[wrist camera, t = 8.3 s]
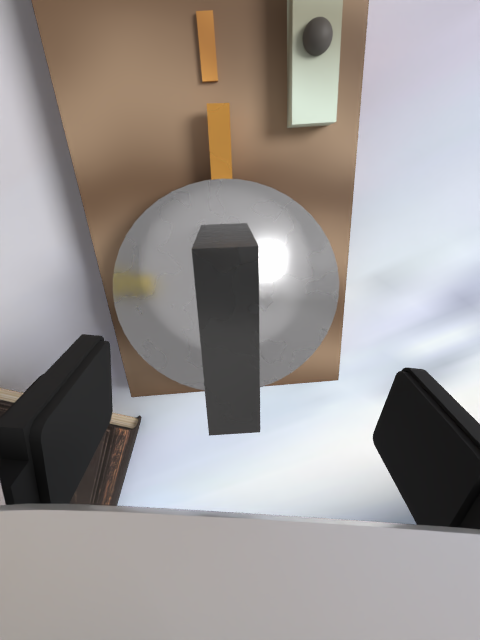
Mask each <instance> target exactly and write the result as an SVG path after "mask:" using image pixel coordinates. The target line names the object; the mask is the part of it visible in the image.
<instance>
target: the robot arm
mask: <svg viewBox="0 0 480 640" xmlns="http://www.w3.org/2000/svg"><path fill="white" fill-rule="evenodd" d="M111 417H112V386H111V360H110V344H109V342H108V341H104V338H103V337H102V336H94V335H85V334H83V335H81V336H80V337H79V338H78V339H77V340H76V341H75V342H74V343H73V344H72V345H71V347H70V348H69V349H68V350H67V351H66V352H65V353H64V354H63V355H62V356H61V357H60V358H59V359H58V360H57V361H56V362H55V363H54V364H53V365H52V366H51V367H50V368H49V369H48V371H47V372H46V373H45V374H43V375H41V376H40V377H39V378H38V379H37V380H36V381H35V382H34V383H33V384H32V385H31V386H30V387H29V388H28V389H27V390H26V391H25V392H24V393H23V394H22V395H21V396H20V397H19V398H18V399H17V400H16V401H15V403H14V404H13V405H12V406H11V407H10V408H9V409H8V410H7V411H6V412H5V413H4V414H3V415H2V416H1V417H0V640H480V424H479V423H478V422H477V421H476V420H475V419H474V418H473V417H472V416H471V415H470V414H469V413H468V412H467V411H466V410H465V409H464V408H463V407H462V406H461V405H460V404H459V403H458V402H457V401H456V400H455V399H454V398H453V397H452V396H451V395H450V394H449V393H448V392H447V391H446V390H445V389H444V388H443V387H442V386H441V385H440V384H439V383H438V382H437V381H436V380H435V379H434V378H433V377H432V376H431V375H430V374H429V373H428V372H427V371H425V370H423V369H415V368H404V369H403V370H402V371H400V372H398V373H397V374H396V376H395V379H394V381H393V384H392V387H391V389H390V392H389V394H388V397H387V400H386V402H385V405H384V407H383V410H382V412H381V415H380V418H379V420H378V423H377V425H376V428H375V431H374V434H373V442H374V445H375V447H376V449H377V451H378V452H379V454H380V456H381V458H382V460H383V462H384V464H385V465H386V467H387V469H388V471H389V473H390V475H391V477H392V479H393V480H394V482H395V484H396V486H397V488H398V490H399V492H400V494H401V495H402V497H403V499H404V501H405V503H406V505H407V507H408V508H409V510H410V512H411V514H412V516H413V518H414V520H415V522H416V523H417V525H415V524H401V523H387V522H373V521H358V520H343V519H328V518H313V517H297V516H282V515H266V514H251V513H234V512H218V511H201V510H184V509H167V508H150V507H131V506H108V505H84V504H69V503H70V501H71V499H72V497H73V495H74V493H75V491H76V489H77V487H78V485H79V483H80V481H81V479H82V477H83V475H84V473H85V471H86V469H87V467H88V465H89V463H90V461H91V459H92V457H93V455H94V453H95V451H96V449H97V447H98V445H99V443H100V441H101V439H102V437H103V435H104V433H105V431H106V429H107V427H108V425H109V423H110V421H111Z"/></svg>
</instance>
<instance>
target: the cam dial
mask: <svg viewBox="0 0 480 640" xmlns="http://www.w3.org/2000/svg"><path fill="white" fill-rule="evenodd" d="M207 119H208V134H209V150H210V166H211V180H204V181H200V182H196V183H193V184H189V185H186V186H184V187H182V188H179V189H177V190H174V191H172V192H171V193H169V194H167V195H166V196H164V197H162V198H161V199H159V200H158V201H156V202H155V203H154V204H153V205H151V206H150V207H149V208H148V209H147V210H145V211H144V213H143V214H142V215H141V216H140V217H139V218H138V219H137V220H136V221H135V223H134V224H133V226H132V227H131V229H130V230H129V232H128V233H127V235H126V236H125V238H124V241H123V243H122V245H121V247H120V249H119V252H118V256H117V259H116V262H115V267H114V274H113V298H114V305H115V309H116V313H117V316H118V320H119V322H120V324H121V327H122V329H123V331H124V333H125V335H126V337H127V338H128V340H129V342H130V343H131V345H132V346H133V347H134V349H135V350H136V351H137V352H138V354H139V355H140V356H141V357H142V358H143V359H144V360H145V361H146V362H147V363H148V364H149V365H151V366H152V367H153V368H154V369H156V370H157V371H158V372H160V373H161V374H163V375H165V376H166V377H168V378H170V379H172V380H174V381H176V382H178V383H180V384H183V385H186V386H189V387H192V388H195V389H200V390H204V391H205V396H206V407H207V417H208V428H209V435H222V434H238V433H254V432H260V387H263V386H266V385H269V384H271V383H273V382H275V381H278V380H280V379H282V378H283V377H285V376H287V375H288V374H290V373H292V372H293V371H294V370H296V369H297V368H298V367H300V366H301V365H302V364H303V363H304V362H305V361H306V360H307V359H308V358H309V357H310V356H312V354H313V353H314V352H315V351H316V349H317V348H318V347H319V346H320V344H321V343H322V341H323V339H324V338H325V336H326V335H327V333H328V330H329V328H330V326H331V324H332V322H333V318H334V315H335V312H336V309H337V303H338V297H339V275H338V267H337V263H336V259H335V255H334V252H333V250H332V247H331V245H330V242H329V240H328V238H327V237H326V235H325V233H324V231H323V230H322V228H321V227H320V225H319V224H318V223H317V222H316V220H315V219H314V218H313V217H312V215H311V214H310V213H308V212H307V211H306V210H305V209H304V208H303V207H302V206H301V205H300V204H299V203H297V202H296V201H294V200H293V199H291V198H290V197H289V196H287V195H285V194H283V193H281V192H279V191H277V190H275V189H273V188H271V187H268V186H265V185H262V184H259V183H256V182H252V181H246V180H241V179H232V155H231V129H230V103H207Z"/></svg>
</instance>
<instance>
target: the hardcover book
mask: <svg viewBox="0 0 480 640" xmlns="http://www.w3.org/2000/svg"><path fill="white" fill-rule="evenodd" d="M22 394H23V393H21V392H16V391H12V390H7V389H3V388H0V417H1V416H2V415H3V414H4V413H5V412H6V411H7V410H8V409H9V408H10V407H11V406H12V405H13V404H14V403H15V401H16V400H17V399H18V398H19V397H20V396H21V395H22ZM140 422H141V416H139V418H134V417H130V416H125V415H121V414H116V413H112V417H111V421H110V423H109V425H108V427H107V429H106V431H105V433H104V435H103V437H102V439H101V441H100V443H99V445H98V447H97V449H96V451H95V453H94V455H93V457H92V459H91V461H90V463H89V465H88V467H87V469H86V471H85V473H84V475H83V477H82V479H81V481H80V483H79V485H78V487H77V489H76V491H75V493H74V495H73V497H72V499H71V501H70V503H69V504H84V505H108V506H117V503H118V500H119V496H120V493H121V489H122V486H123V482H124V479H125V475H126V472H127V468H128V464H129V461H130V457H131V454H132V450H133V447H134V443H135V440H136V436H137V433H138V429H139V425H140Z"/></svg>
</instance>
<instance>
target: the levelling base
mask: <svg viewBox="0 0 480 640" xmlns="http://www.w3.org/2000/svg"><path fill="white" fill-rule="evenodd" d="M32 4H33V8H34V12H35V16H36V20H37V24H38V28H39V32H40V36H41V40H42V44H43V48H44V52H45V56H46V60H47V64H48V68H49V72H50V76H51V80H52V84H53V88H54V92H55V96H56V100H57V104H58V107H59V111H60V115H61V119H62V123H63V127H64V131H65V135H66V139H67V143H68V147H69V151H70V155H71V159H72V163H73V167H74V171H75V175H76V179H77V183H78V187H79V191H80V195H81V199H82V203H83V207H84V211H85V215H86V218H87V222H88V226H89V230H90V234H91V238H92V242H93V246H94V250H95V254H96V258H97V262H98V266H99V270H100V274H101V278H102V282H103V286H104V290H105V294H106V298H107V302H108V306H109V310H110V314H111V318H112V322H113V326H114V329H115V333H116V337H117V341H118V345H119V349H120V353H121V357H122V361H123V365H124V369H125V373H126V377H127V381H128V385H129V389H130V393H131V397H139V396H151V395H164V394H176V393H188V392H200V391H204V390H200V389H195V388H192V387H189V386H186V385H183V384H180V383H178V382H176V381H174V380H172V379H170V378H168V377H166V376H165V375H163V374H161V373H160V372H158V371H157V370H156V369H154V368H153V367H152V366H151V365H149V364H148V363H147V362H146V361H145V360H144V359H143V358H142V357H141V356H140V355H139V354H138V352H137V351H136V350H135V349H134V347H133V346H132V345H131V343H130V342H129V340H128V338H127V337H126V335H125V333H124V331H123V329H122V327H121V324H120V322H119V320H118V316H117V313H116V309H115V305H114V298H113V274H114V267H115V262H116V259H117V256H118V252H119V249H120V247H121V245H122V243H123V241H124V238H125V236H126V235H127V233H128V232H129V230H130V229H131V227H132V226H133V224H134V223H135V221H136V220H137V219H138V218H139V217H140V216H141V215H142V214H143V213H144V211H145V210H147V209H148V208H149V207H150V206H151V205H153V204H154V203H155V202H156V201H158V200H159V199H161V198H162V197H164V196H166V195H167V194H169V193H171V192H172V191H174V190H177V189H179V188H182V187H184V186H186V185H189V184H193V183H196V182H200V181H204V180H211V166H210V150H209V134H208V119H207V103H230V129H231V155H232V179H241V180H246V181H252V182H256V183H259V184H262V185H265V186H268V187H271V188H273V189H275V190H277V191H279V192H281V193H283V194H285V195H287V196H289V197H290V198H291V199H293V200H294V201H296V202H297V203H299V204H300V205H301V206H302V207H303V208H304V209H305V210H306V211H307V212H308V213H310V214H311V215H312V217H313V218H314V219H315V220H316V222H317V223H318V224H319V225H320V227H321V228H322V230H323V231H324V233H325V235H326V237H327V238H328V240H329V242H330V245H331V247H332V250H333V252H334V255H335V259H336V263H337V267H338V275H339V297H338V303H337V309H336V312H335V315H334V318H333V322H332V324H331V326H330V328H329V330H328V333H327V335H326V336H325V338H324V339H323V341H322V343H321V344H320V346H319V347H318V348H317V349H316V351H315V352H314V353H313V354H312V356H310V357H309V358H308V359H307V360H306V361H305V362H304V363H303V364H302V365H301V366H300V367H298V368H297V369H296V370H294V371H293V372H292V373H290V374H288V375H287V376H285V377H283V378H282V379H280V380H278V381H275V382H273V383H271V384H269V385H266V386H273V385H285V384H297V383H309V382H321V381H333V380H338V377H339V364H340V352H341V339H342V327H343V315H344V302H345V290H346V277H347V265H348V253H349V240H350V228H351V215H352V203H353V191H354V178H355V166H356V153H357V141H358V129H359V116H360V104H361V91H362V79H363V67H364V54H365V42H366V29H367V17H368V4H369V0H32Z"/></svg>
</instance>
